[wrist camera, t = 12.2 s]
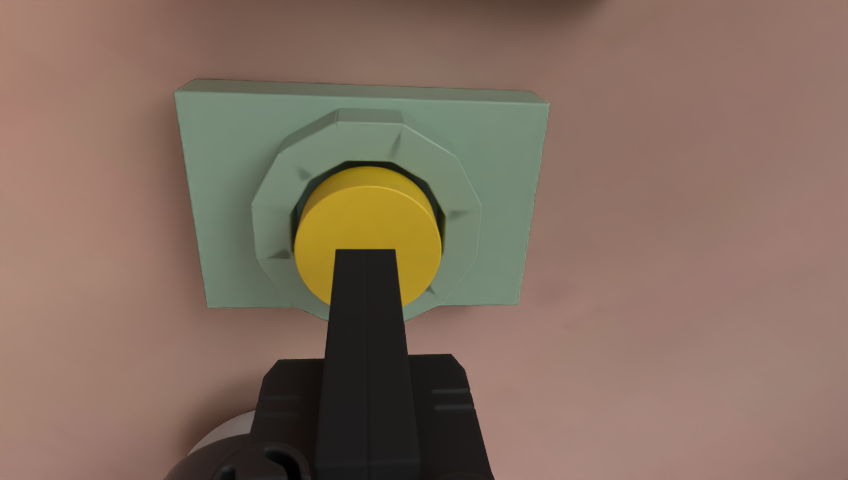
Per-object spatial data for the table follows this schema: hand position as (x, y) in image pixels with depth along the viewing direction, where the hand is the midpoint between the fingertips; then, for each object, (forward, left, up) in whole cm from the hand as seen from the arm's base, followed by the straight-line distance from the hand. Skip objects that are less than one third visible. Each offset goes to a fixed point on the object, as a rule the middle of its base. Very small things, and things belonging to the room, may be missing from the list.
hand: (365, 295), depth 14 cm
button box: (0, 0, -8) cm, 8 cm away
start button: (0, 0, -4) cm, 4 cm away
